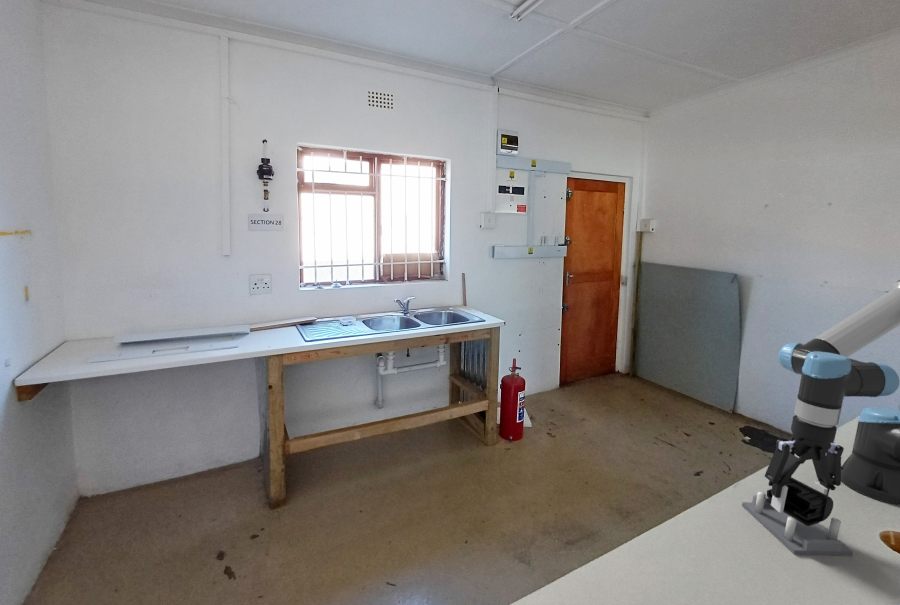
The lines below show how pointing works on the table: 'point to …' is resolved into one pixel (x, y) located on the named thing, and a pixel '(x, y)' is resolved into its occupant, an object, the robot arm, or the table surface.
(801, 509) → the end cap
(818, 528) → the tray
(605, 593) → the table surface
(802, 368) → the robot arm
